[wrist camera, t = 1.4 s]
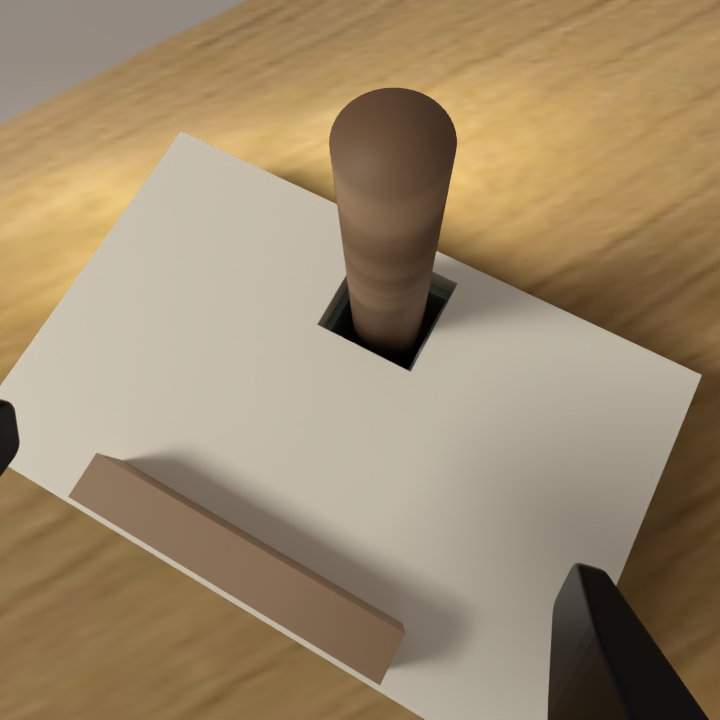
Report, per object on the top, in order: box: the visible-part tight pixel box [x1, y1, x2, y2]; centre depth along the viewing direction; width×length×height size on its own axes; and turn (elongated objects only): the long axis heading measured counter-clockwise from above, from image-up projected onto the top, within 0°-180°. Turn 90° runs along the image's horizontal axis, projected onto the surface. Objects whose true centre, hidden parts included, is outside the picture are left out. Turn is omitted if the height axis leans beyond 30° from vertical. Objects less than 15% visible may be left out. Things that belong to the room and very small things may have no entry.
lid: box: [0, 132, 702, 720], centre depth 19 cm, size 13×20×3 cm, turn 62°
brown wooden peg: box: [329, 88, 457, 366], centre depth 18 cm, size 2×2×12 cm
